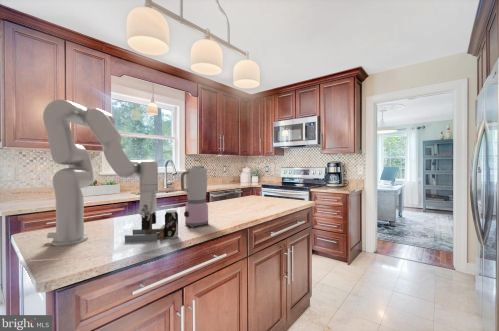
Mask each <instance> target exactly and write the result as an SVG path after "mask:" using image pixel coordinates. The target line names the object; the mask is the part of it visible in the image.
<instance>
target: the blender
mask: <svg viewBox="0 0 499 331" xmlns="http://www.w3.org/2000/svg"><path fill="white" fill-rule="evenodd" d="M207 172H208V170H207V168H204V167H202V165H192V166H191V168H189V167H188V168H186V169H185V171H184V172H182V173H181V175H180V188H181V189H180V190H181V191H182V192H186V195H187V201H186V204H185V205H184V206H185V207H184V210H185V211H184V213H183V215H184V217H185V222H184V223H185V226H190V228H192V229H195V227H196V226H203V225H207V226H208V225H209V206H208V205H209V204H208V203H207V200H206V198H207V192H208V173H207Z"/></svg>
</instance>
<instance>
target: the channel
mask: <svg viewBox="0 0 499 331" xmlns="http://www.w3.org/2000/svg"><path fill="white" fill-rule="evenodd" d="M159 229H160V228H152V232H160V231H159ZM134 242H135V243H137V242H143V243H144V242H158V237H157V234H145V230H142V228H139V229H138V228H136V229H134V228H133V229H132V234H125V235H124V243H134Z"/></svg>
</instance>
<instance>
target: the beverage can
mask: <svg viewBox="0 0 499 331" xmlns="http://www.w3.org/2000/svg"><path fill="white" fill-rule="evenodd" d="M164 225H165V239H169V240H173V239H176V238H177V237H179V214H178V212H177V210H176V209H171V210H166V211H165V214H164Z"/></svg>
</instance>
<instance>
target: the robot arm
mask: <svg viewBox="0 0 499 331" xmlns="http://www.w3.org/2000/svg"><path fill="white" fill-rule="evenodd" d="M42 113H43V114H42V119H43V124H44V127H45V131H46V134H47V140H48V145H49V149H50V151H49V152H50V155H51V158H52V160H53V162H54V163H55V164H57V165H60V166H68V167H65V168H62V169H61V168H60V169H59V170H58V171H56V172H55V173H54V174H53V177H52V187H53V191H54V195H55V196H54V197H55V231H54V232H51V231H50V232H48V233H47V235H46V239H51V238H52V241H51V245H52V246H54V247H63V246H71V245H77V244H80V243H83V242H86V241H87V240H89V236H88V235H87V234H85V221H84V220H85V218H84V217H85V215H84V214H85V211H84V209H85V208H84V206H85V205H84V204H85V203H84V196H83V192H82V189H85V188H88V187H89V186H90V185H91V184H92V183H93V182H94V171H93V166H92V162H91V157H90V153H89V151H88V150H87V148H85V147H84V146H83V145H80V144H77V143H75V142H76V141H75V140H74V135H73V131H72V129H71V127H70V126H69V124H68V122H69V123H73V124H76V125H79V126H84V127H88V128H89V129H90V130H91V131H92V133H93V135H94V136H95V137H96V139H97V141H98V142H99V143H100V145H101V147H102V151H103V154H104V157H105V160H106V161H107V163H108V164H109V167H111V169H112V170H113V172H114V173H115V174H116V175H117V176H119V177H120V178H124V179H126V178H136V177H139V192H140V195H139V207H138V208H139V209H138V210H139V212H138V214H139V216H140V217H141V219H140V221H141V229H142V230H149V229H150V220H149V217H150V215H152V225H155V224H156V223H157V209H158V208H157V207H158V206H157V204H158V203H157V192H158V191H159V171H158V170H159V165H158V162H157V161H156V160H134V159H131V160H130V159H129V157H128V156H127V155H126V153H125V150H124V149H123V148H122V144H121V143H122V140H123V138H122V135H121V133H120V132H119V131H118V130H117V128H116V127H115V124H116V120H115V118H114V117H113V115H112V114H111V113H109V112H107V111H105V110H102V109H100V108H90V107H85V106H83V105H80V104H78V103H75V102H72V101H70V100H67V99H54V100H53V101H50V102H49V103H48V104H47V105H46V107H45V108H44V110H43V112H42Z"/></svg>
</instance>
